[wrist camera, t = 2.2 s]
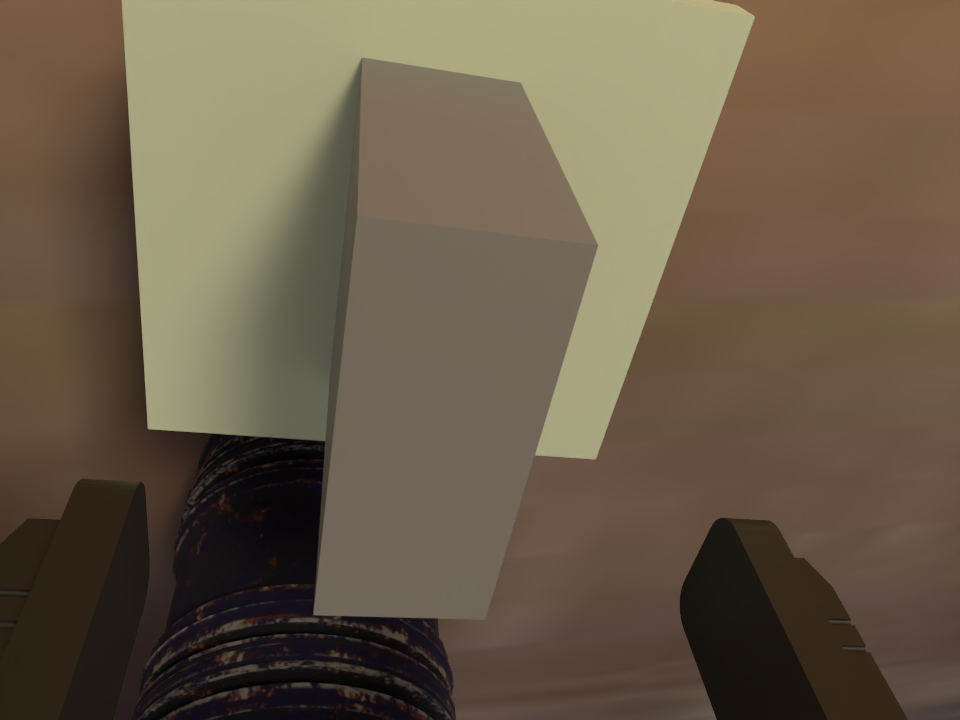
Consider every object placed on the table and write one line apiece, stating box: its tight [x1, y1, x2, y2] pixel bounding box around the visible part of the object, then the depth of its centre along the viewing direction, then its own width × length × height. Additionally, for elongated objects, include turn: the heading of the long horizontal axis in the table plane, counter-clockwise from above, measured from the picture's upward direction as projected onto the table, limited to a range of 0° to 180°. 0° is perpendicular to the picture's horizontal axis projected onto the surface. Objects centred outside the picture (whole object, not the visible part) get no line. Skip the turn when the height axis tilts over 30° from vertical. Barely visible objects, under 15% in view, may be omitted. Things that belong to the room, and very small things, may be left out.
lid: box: [122, 0, 755, 620], centre depth 16 cm, size 12×12×9 cm
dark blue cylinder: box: [131, 433, 456, 720], centre depth 28 cm, size 10×10×15 cm
